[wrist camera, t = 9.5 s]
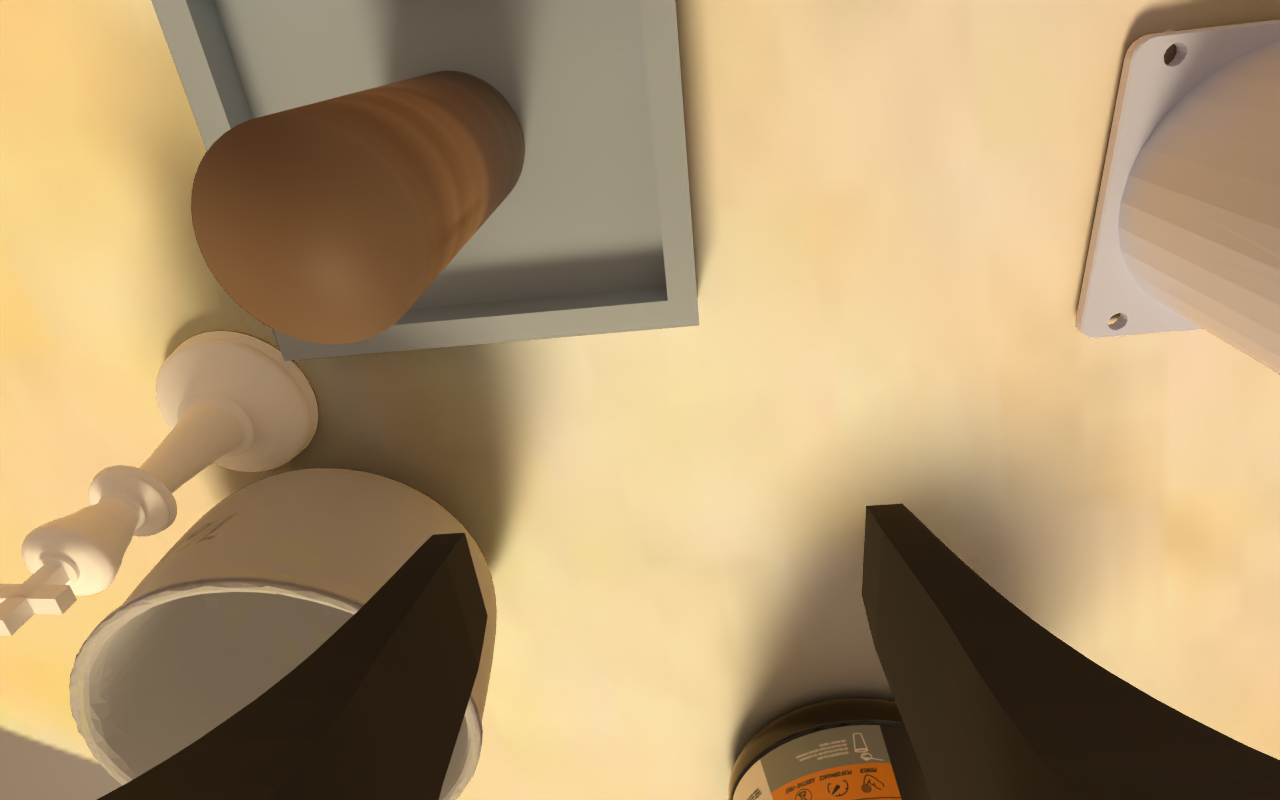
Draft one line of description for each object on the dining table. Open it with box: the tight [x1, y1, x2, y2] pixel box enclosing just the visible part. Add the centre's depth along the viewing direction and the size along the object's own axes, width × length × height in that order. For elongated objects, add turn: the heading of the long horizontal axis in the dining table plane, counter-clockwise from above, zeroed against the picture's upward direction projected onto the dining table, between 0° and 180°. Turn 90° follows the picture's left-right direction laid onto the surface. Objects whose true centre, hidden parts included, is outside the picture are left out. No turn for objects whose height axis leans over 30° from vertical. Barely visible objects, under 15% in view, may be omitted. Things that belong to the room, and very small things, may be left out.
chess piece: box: [0, 331, 318, 636], centre depth 20 cm, size 5×5×10 cm
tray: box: [151, 0, 699, 361], centre depth 19 cm, size 12×10×2 cm
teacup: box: [69, 468, 497, 800], centre depth 24 cm, size 14×11×8 cm
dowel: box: [191, 71, 525, 344], centre depth 15 cm, size 4×4×9 cm
